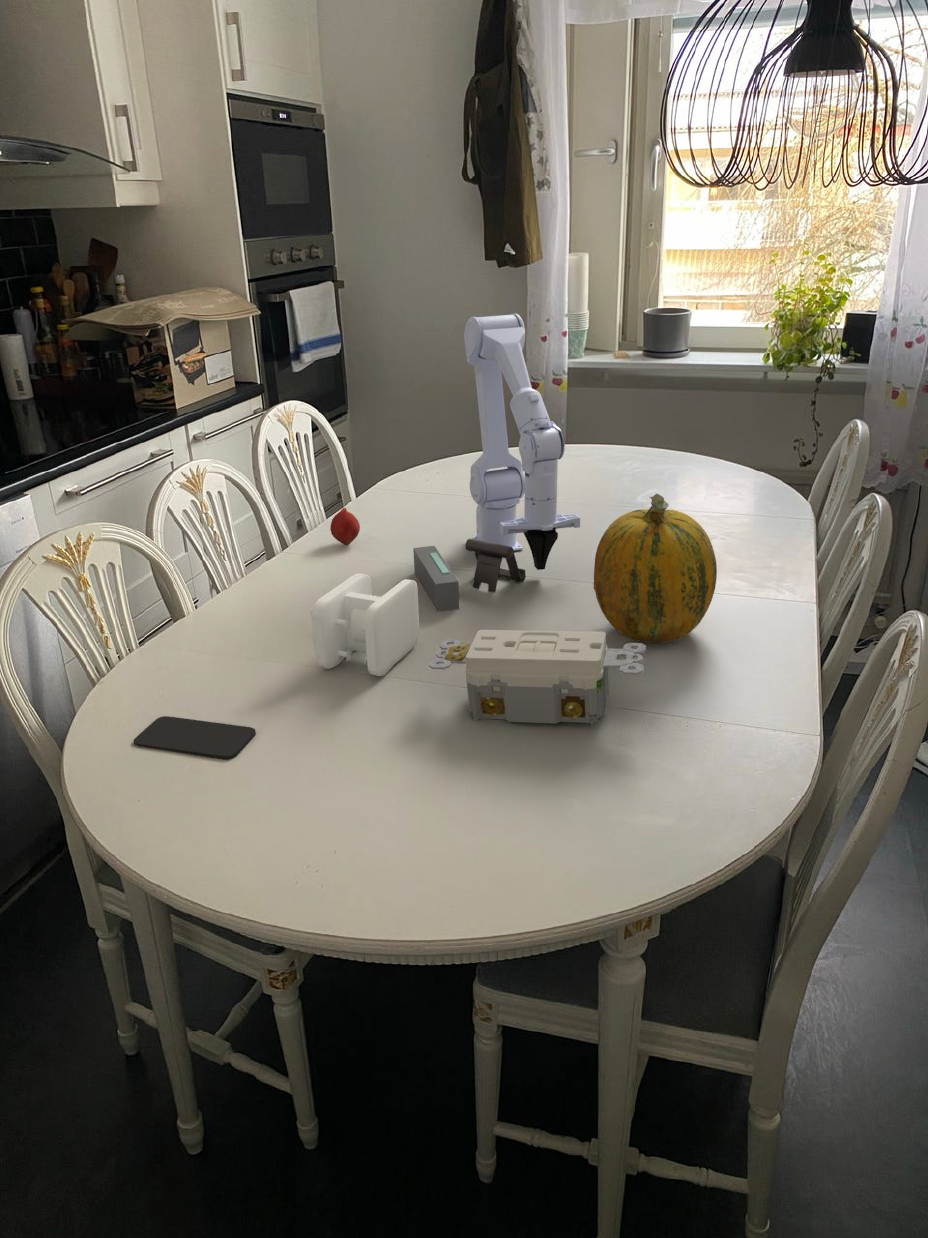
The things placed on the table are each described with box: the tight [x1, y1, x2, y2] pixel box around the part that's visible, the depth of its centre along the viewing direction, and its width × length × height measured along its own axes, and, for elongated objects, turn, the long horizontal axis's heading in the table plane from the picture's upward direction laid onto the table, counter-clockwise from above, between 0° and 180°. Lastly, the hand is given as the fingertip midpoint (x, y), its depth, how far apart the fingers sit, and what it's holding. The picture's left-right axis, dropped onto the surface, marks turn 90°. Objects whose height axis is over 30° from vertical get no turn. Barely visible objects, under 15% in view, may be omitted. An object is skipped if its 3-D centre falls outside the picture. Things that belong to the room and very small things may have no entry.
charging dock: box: [412, 545, 460, 612], centre depth 168 cm, size 18×4×5 cm, turn 15°
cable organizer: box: [310, 573, 420, 677], centre depth 142 cm, size 15×11×12 cm
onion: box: [329, 507, 361, 546], centre depth 189 cm, size 6×6×8 cm
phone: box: [132, 715, 257, 761], centre depth 125 cm, size 7×1×15 cm
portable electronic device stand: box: [465, 538, 527, 593], centre depth 169 cm, size 9×8×8 cm
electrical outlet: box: [428, 629, 647, 725], centre depth 129 cm, size 12×28×10 cm, turn 77°
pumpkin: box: [593, 493, 718, 644], centre depth 146 cm, size 19×19×25 cm
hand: (539, 567), depth 172 cm, fingers closed
